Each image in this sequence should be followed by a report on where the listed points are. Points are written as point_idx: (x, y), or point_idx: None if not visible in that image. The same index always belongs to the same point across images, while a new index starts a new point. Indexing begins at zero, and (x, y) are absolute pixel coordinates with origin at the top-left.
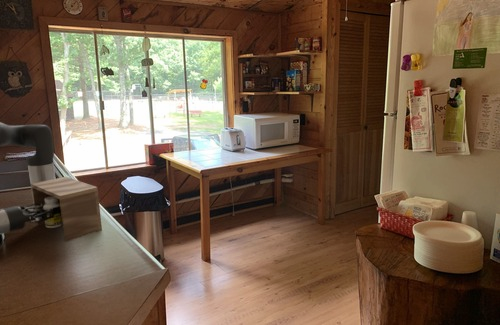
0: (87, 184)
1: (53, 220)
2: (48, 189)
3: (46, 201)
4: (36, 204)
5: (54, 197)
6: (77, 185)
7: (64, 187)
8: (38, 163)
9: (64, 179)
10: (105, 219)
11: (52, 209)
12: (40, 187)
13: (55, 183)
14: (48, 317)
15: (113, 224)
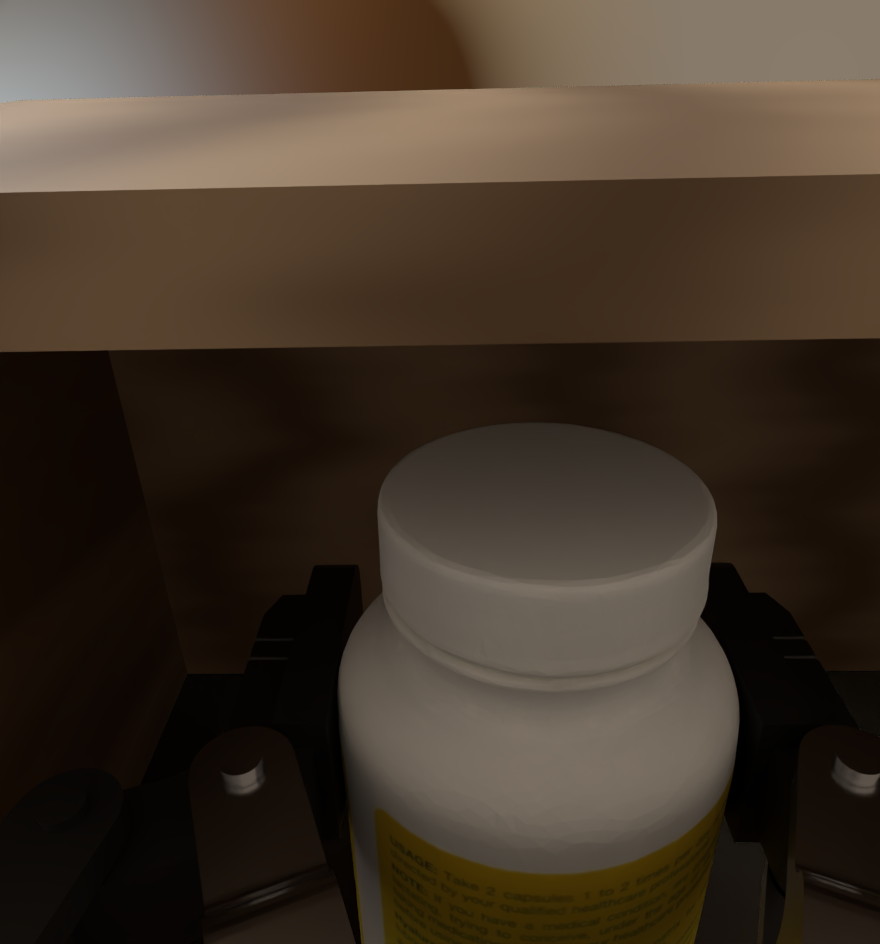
0: (854, 80)
1: (695, 935)
2: (874, 157)
3: (633, 628)
4: (59, 855)
5: (540, 451)
6: (834, 89)
7: (863, 110)
8: None
9: (162, 103)
10: None
11: (877, 754)
12: (267, 182)
13: (269, 122)
14: None
15: None
